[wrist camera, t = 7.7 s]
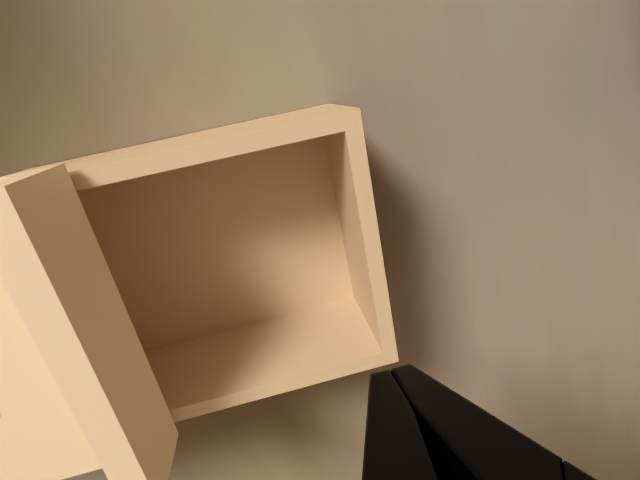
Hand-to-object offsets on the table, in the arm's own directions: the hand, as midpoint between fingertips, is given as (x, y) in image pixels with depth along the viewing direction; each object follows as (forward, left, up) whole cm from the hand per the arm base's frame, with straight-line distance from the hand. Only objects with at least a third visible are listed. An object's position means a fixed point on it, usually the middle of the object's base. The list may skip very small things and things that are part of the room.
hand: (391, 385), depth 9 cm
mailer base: (+5, 0, -12) cm, 13 cm away
